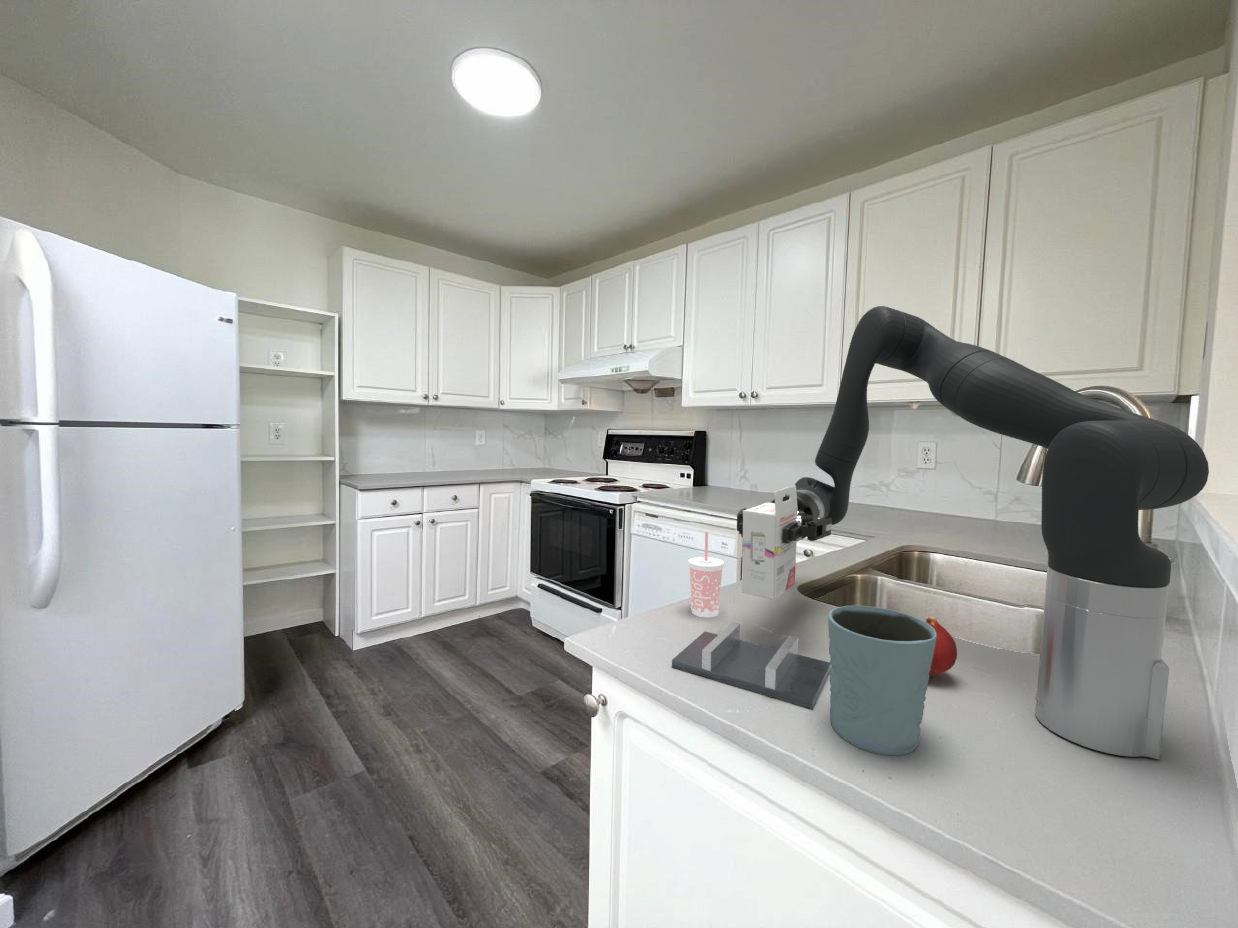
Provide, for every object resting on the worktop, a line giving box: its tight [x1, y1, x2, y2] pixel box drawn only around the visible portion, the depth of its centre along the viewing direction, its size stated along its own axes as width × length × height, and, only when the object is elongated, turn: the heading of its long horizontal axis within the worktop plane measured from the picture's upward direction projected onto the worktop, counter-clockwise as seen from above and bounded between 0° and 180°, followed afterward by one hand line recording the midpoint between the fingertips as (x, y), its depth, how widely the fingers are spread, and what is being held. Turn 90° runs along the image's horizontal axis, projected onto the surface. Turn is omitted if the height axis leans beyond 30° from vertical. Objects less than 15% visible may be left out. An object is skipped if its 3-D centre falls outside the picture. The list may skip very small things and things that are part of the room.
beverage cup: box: [687, 531, 725, 619], centre depth 87 cm, size 6×6×14 cm
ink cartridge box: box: [741, 484, 798, 600], centre depth 72 cm, size 9×5×15 cm, turn 142°
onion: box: [925, 616, 958, 678], centre depth 66 cm, size 6×6×8 cm
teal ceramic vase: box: [827, 605, 937, 756], centre depth 54 cm, size 10×10×12 cm
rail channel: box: [671, 621, 831, 710], centre depth 68 cm, size 18×11×4 cm, turn 57°
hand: (764, 533), depth 69 cm, fingers closed on ink cartridge box, 5 cm apart
